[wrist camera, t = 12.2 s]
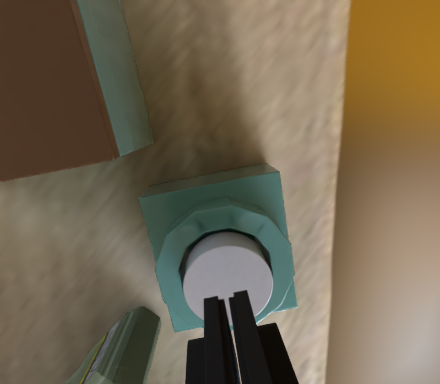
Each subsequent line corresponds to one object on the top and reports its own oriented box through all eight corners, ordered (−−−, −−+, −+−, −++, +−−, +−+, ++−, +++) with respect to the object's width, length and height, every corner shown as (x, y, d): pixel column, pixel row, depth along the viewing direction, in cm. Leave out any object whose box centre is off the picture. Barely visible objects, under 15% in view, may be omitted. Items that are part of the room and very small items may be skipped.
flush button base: (148, 185, 19) (130, 208, 14) (266, 162, 19) (289, 177, 14) (178, 301, 21) (171, 356, 16) (283, 280, 21) (308, 328, 16)
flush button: (177, 240, 15) (173, 256, 13) (259, 224, 15) (266, 237, 13) (194, 311, 16) (193, 333, 14) (270, 295, 16) (278, 316, 14)
